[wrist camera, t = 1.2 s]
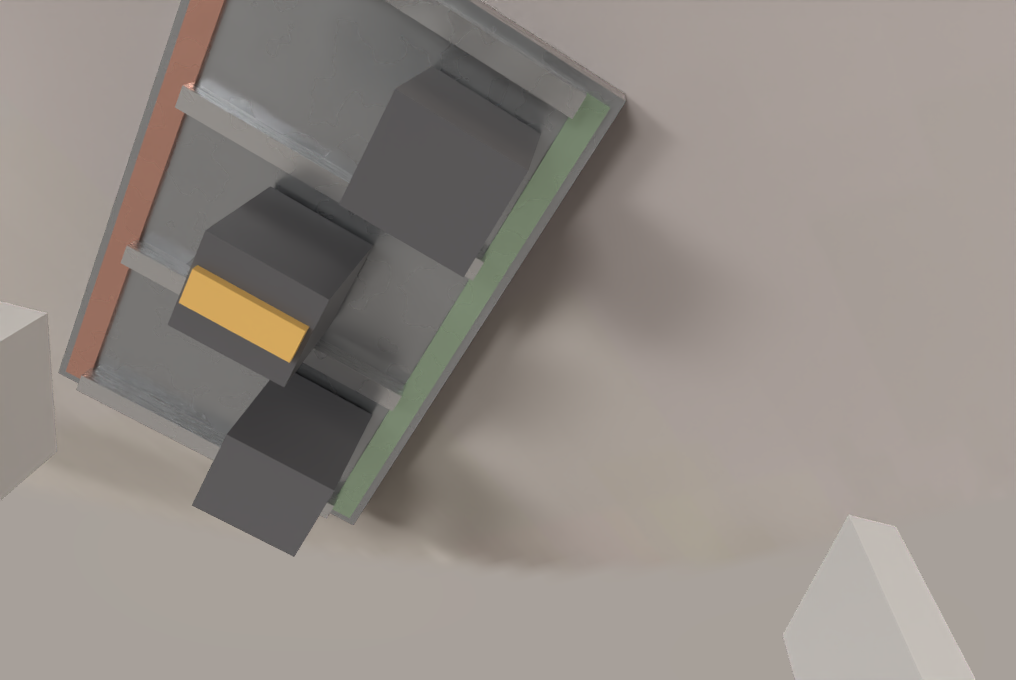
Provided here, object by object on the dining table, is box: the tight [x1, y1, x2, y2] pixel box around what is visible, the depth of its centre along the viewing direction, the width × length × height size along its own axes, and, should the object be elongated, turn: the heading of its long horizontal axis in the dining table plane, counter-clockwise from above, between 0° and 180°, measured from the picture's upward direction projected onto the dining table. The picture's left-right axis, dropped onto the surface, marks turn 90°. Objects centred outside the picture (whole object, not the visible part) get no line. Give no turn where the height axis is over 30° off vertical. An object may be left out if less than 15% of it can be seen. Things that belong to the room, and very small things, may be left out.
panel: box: [59, 0, 626, 525], centre depth 34 cm, size 17×26×3 cm, turn 150°
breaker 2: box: [192, 373, 372, 556], centre depth 35 cm, size 5×4×6 cm
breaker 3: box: [339, 66, 541, 277], centre depth 28 cm, size 5×4×6 cm
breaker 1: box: [168, 186, 373, 387], centre depth 31 cm, size 5×4×6 cm
